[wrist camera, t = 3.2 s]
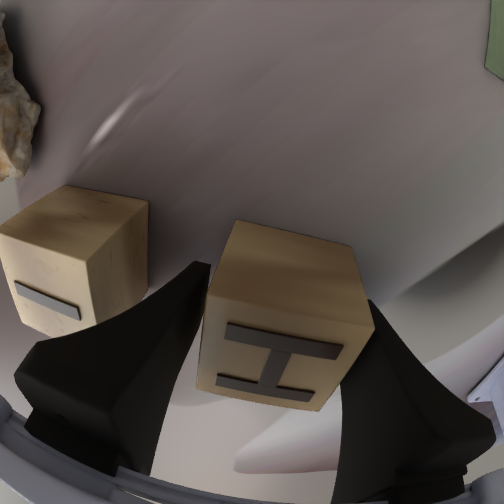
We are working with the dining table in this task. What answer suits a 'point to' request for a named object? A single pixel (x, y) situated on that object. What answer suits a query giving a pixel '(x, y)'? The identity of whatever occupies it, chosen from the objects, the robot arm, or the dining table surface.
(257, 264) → the wooden h block
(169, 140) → the dining table surface
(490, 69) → the tray
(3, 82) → the rock
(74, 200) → the wooden i block
